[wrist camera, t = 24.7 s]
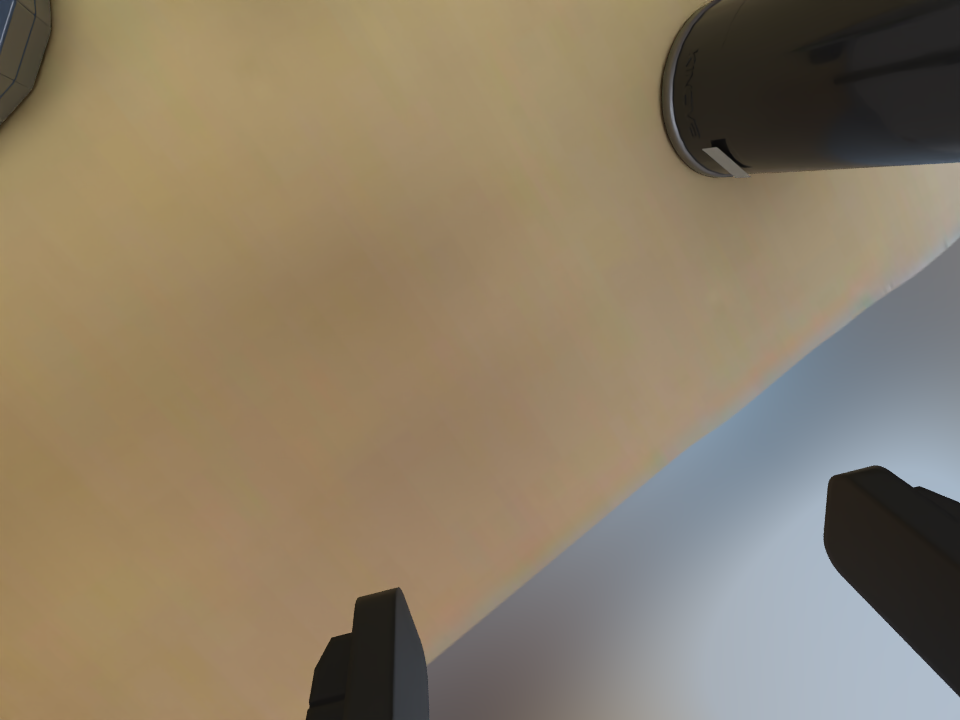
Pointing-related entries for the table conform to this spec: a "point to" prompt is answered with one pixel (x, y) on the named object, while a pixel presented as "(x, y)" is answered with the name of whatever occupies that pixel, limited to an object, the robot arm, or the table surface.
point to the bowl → (21, 49)
